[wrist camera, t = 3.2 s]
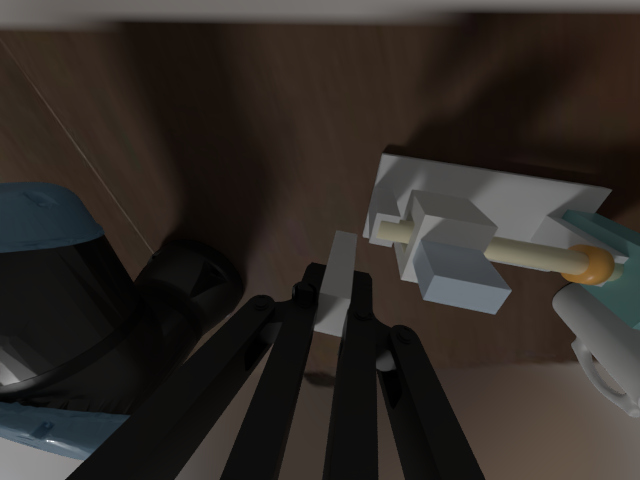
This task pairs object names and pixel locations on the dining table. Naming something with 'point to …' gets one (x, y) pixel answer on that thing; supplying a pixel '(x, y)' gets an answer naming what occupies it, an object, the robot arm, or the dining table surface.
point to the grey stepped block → (450, 253)
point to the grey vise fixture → (522, 224)
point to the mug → (602, 344)
